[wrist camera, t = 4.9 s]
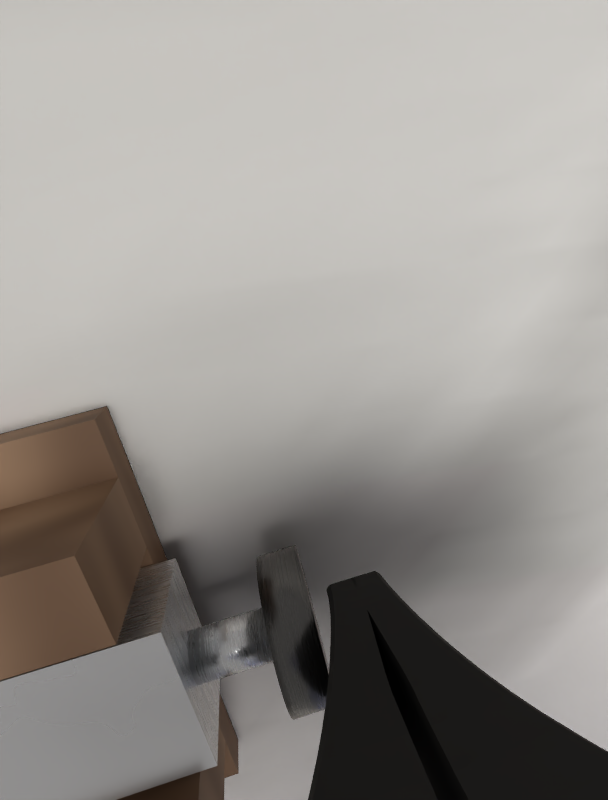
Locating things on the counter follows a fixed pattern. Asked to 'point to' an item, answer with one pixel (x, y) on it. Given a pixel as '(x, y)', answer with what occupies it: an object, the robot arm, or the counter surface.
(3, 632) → the housing
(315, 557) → the counter surface
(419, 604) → the counter surface
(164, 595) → the door stop
